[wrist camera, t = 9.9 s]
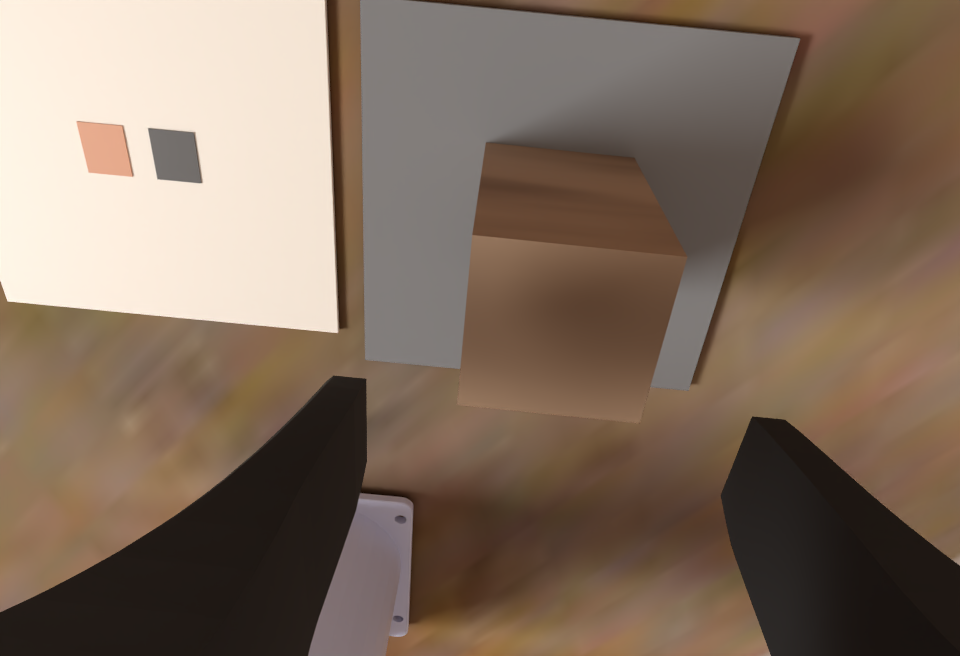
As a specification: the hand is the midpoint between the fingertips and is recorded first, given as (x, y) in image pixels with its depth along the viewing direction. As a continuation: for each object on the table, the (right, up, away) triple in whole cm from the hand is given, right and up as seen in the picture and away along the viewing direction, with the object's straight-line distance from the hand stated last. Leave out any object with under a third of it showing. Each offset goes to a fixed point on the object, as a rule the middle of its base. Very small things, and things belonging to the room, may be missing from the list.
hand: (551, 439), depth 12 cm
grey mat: (+1, +6, +9) cm, 10 cm away
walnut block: (+1, +6, +8) cm, 10 cm away
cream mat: (-12, +8, +8) cm, 16 cm away
